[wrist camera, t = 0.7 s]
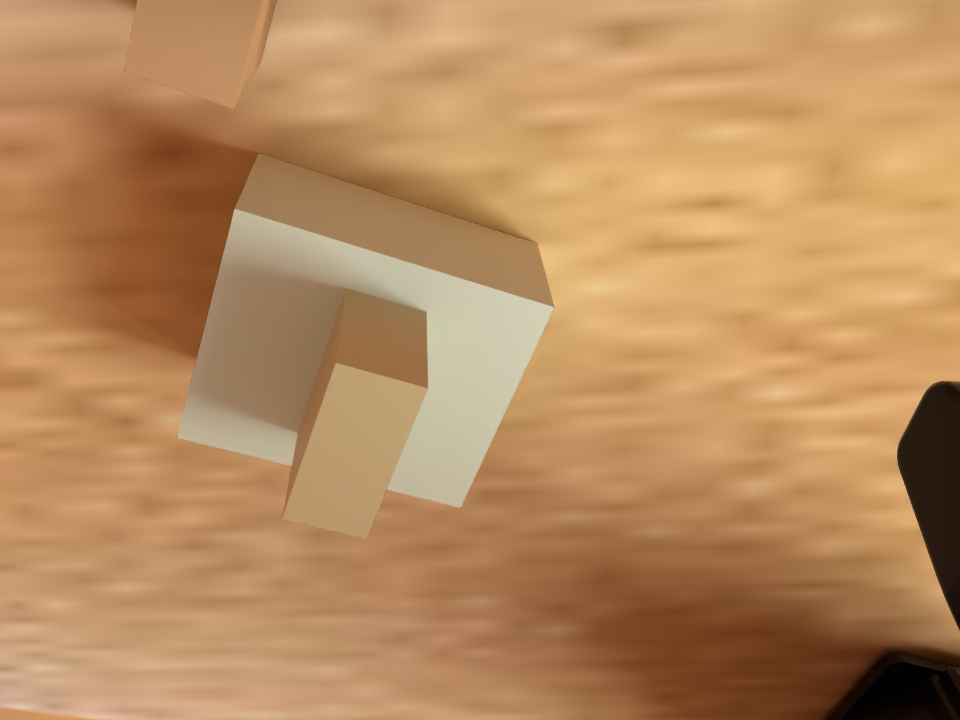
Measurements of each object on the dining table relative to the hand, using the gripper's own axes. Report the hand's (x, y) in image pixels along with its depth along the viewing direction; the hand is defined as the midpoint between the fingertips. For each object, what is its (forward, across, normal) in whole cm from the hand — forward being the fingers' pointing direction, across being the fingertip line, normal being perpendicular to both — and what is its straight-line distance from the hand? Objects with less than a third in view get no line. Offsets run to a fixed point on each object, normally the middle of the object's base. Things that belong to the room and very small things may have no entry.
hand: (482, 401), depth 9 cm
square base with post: (+14, 0, +8) cm, 16 cm away
